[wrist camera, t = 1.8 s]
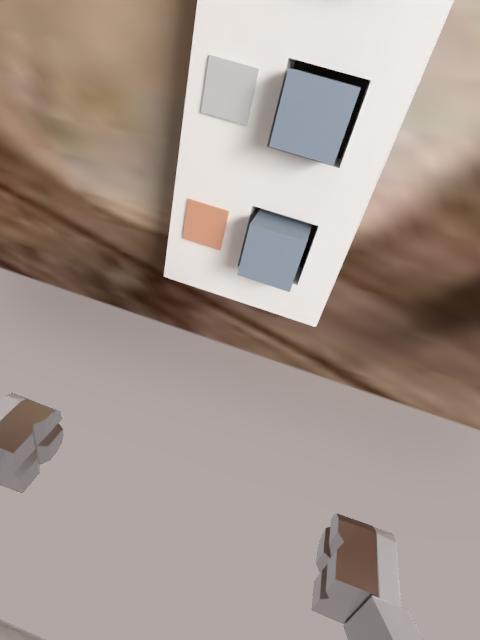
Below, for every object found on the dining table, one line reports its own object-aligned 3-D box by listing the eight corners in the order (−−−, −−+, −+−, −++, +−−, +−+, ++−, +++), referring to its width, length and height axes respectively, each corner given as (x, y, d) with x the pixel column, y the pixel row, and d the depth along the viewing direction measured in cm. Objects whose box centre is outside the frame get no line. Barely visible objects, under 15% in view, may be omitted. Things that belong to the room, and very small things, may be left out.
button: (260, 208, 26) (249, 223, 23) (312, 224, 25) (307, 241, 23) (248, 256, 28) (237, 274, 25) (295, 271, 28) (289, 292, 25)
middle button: (296, 69, 21) (288, 68, 19) (359, 86, 21) (360, 88, 18) (278, 138, 23) (269, 146, 21) (335, 155, 23) (333, 165, 20)
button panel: (254, -265, 17) (235, -328, 14) (531, -208, 16) (566, -264, 13) (178, 261, 32) (162, 277, 29) (319, 307, 31) (315, 328, 28)
